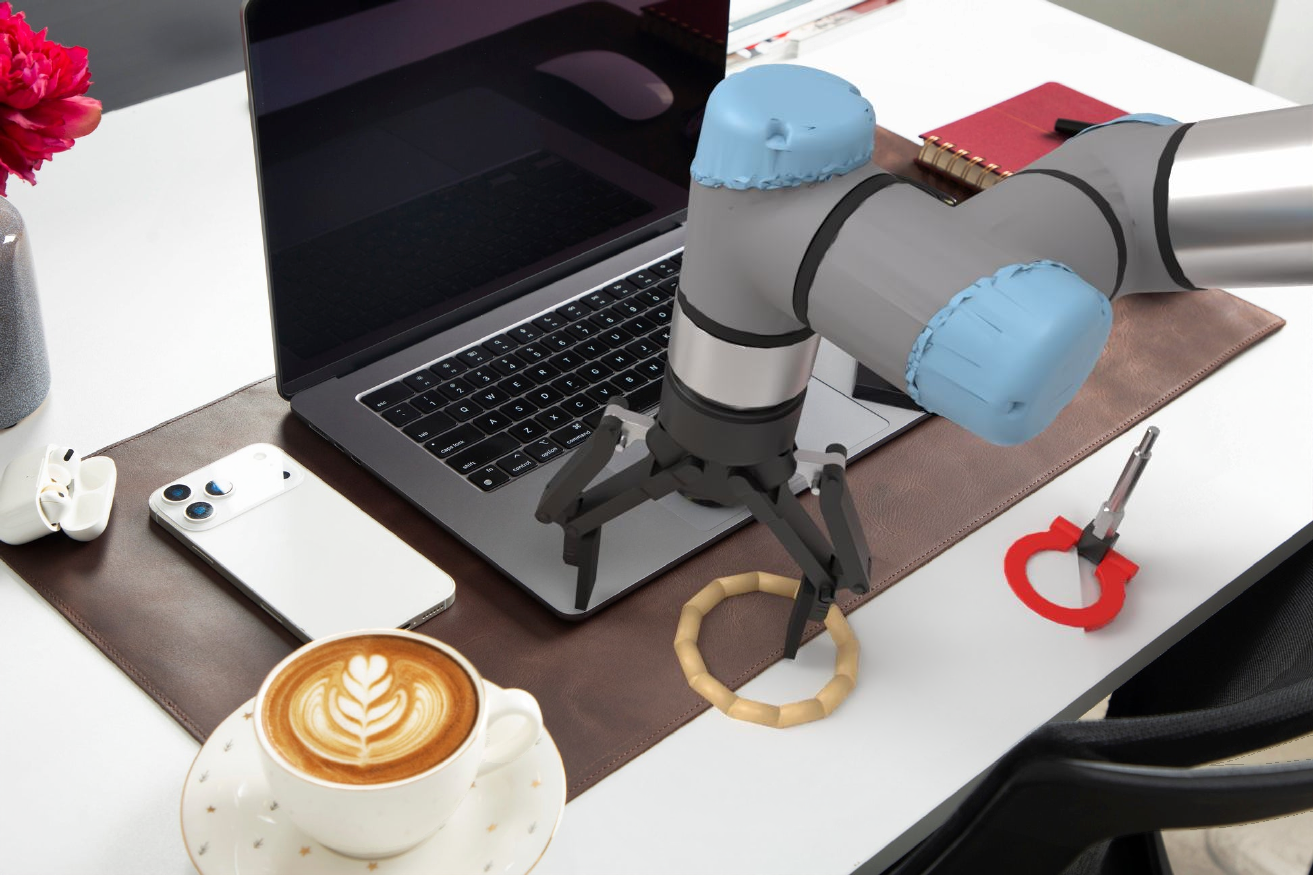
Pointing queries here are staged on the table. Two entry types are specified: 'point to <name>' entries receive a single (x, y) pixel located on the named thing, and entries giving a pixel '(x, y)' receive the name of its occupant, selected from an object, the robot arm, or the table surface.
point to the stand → (880, 390)
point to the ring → (752, 709)
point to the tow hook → (1085, 551)
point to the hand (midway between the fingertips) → (687, 618)
